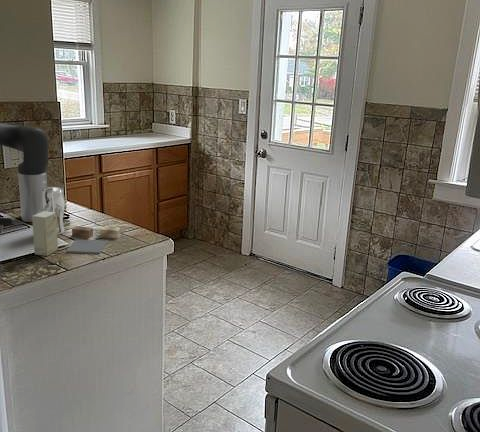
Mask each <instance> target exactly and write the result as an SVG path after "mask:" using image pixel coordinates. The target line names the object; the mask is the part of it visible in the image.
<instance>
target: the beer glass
mask: <svg viewBox="0 0 480 432" xmlns="http://www.w3.org/2000/svg"><path fill="white" fill-rule="evenodd" d="M64 193H65V192H64V188H63V187H59V186H47V187H46V188H43V189H42V205H43V210H44V211H49V212H56V221H57V235H61V234H63V233H65V228H64V222H63V221H64V212H65V203H66V202H65V194H64Z"/></svg>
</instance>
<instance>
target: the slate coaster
mask: <svg viewBox="0 0 480 432" xmlns="http://www.w3.org/2000/svg"><path fill="white" fill-rule="evenodd" d="M106 244H107V240H97V239H96V240H95V239H77V238H76V239H74V241H73V242H72V243H71V244H70V246H69V247H68V249H66V253H69V254H93V255H94V254H96V255H100V254H101V253H102V251H103V250H104V248H105V247H106Z"/></svg>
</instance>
